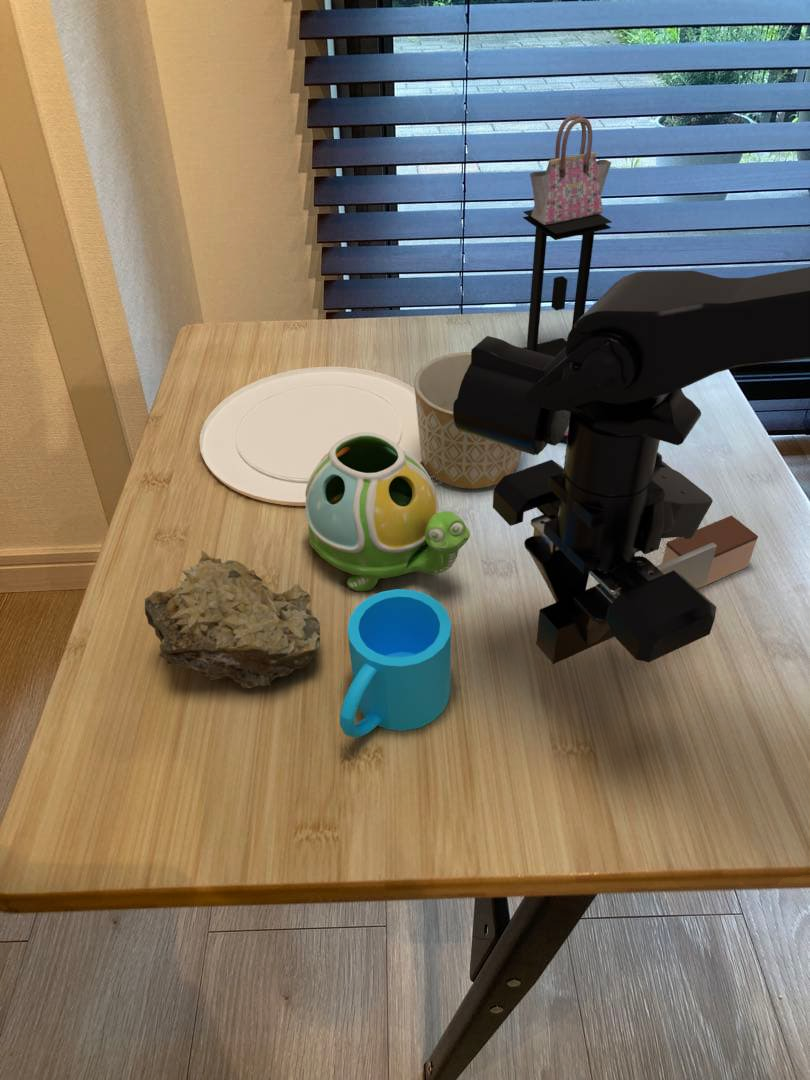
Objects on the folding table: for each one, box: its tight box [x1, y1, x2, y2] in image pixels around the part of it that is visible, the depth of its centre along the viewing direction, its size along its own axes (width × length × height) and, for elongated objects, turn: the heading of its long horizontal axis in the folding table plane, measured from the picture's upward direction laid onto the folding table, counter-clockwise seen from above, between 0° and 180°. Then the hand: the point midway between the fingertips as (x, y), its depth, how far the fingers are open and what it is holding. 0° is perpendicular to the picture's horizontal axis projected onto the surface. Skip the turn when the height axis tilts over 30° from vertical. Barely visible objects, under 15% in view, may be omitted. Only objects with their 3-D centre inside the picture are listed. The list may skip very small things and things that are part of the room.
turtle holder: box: [305, 432, 471, 592], centre depth 80 cm, size 12×18×12 cm
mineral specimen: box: [144, 549, 321, 689], centre depth 73 cm, size 14×13×10 cm
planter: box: [413, 351, 522, 489], centre depth 92 cm, size 13×13×10 cm
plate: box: [199, 366, 423, 507], centre depth 100 cm, size 28×28×1 cm
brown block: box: [661, 515, 759, 590], centre depth 80 cm, size 4×8×4 cm, turn 118°
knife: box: [535, 542, 717, 665], centre depth 67 cm, size 16×2×4 cm, turn 117°
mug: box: [339, 588, 452, 739], centre depth 68 cm, size 12×8×8 cm
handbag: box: [522, 114, 613, 357], centre depth 102 cm, size 10×8×30 cm
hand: (581, 630), depth 66 cm, fingers closed on knife, 2 cm apart
